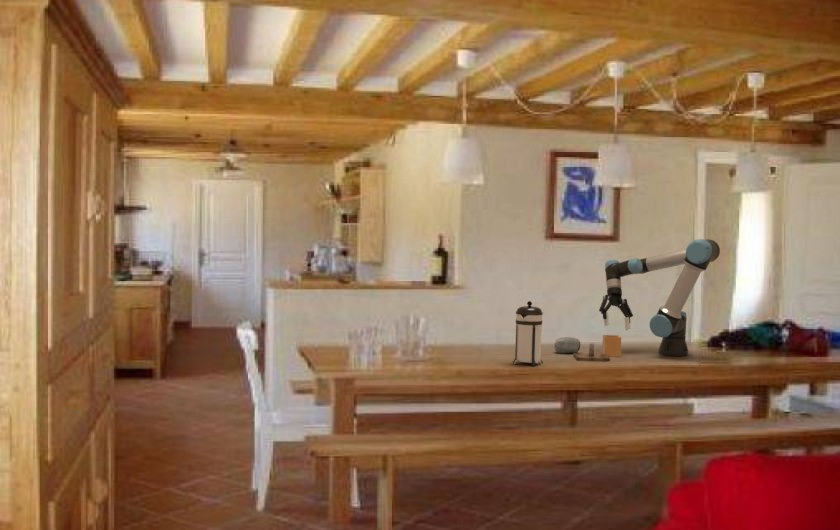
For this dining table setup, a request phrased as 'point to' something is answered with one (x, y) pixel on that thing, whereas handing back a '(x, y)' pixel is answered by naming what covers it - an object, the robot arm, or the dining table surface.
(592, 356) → the shaft stand
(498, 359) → the dining table surface
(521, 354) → the coffee press
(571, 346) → the grey green rounded lump
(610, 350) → the spacer sleeve
